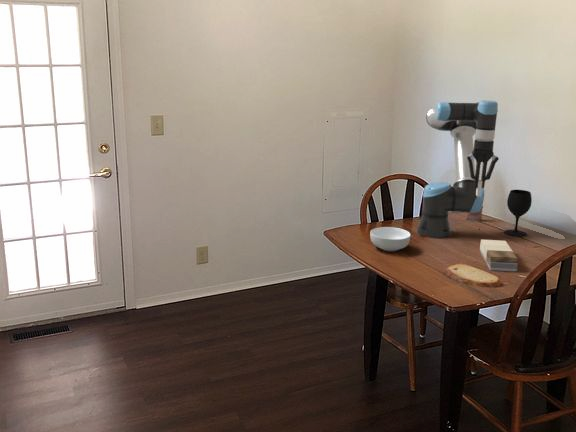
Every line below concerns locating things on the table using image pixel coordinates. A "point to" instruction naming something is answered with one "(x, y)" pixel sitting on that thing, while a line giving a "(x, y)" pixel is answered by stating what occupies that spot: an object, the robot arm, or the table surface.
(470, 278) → the bread slice
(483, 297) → the table surface
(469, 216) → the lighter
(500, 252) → the tan brown block
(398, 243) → the cereal bowl
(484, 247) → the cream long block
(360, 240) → the table surface
